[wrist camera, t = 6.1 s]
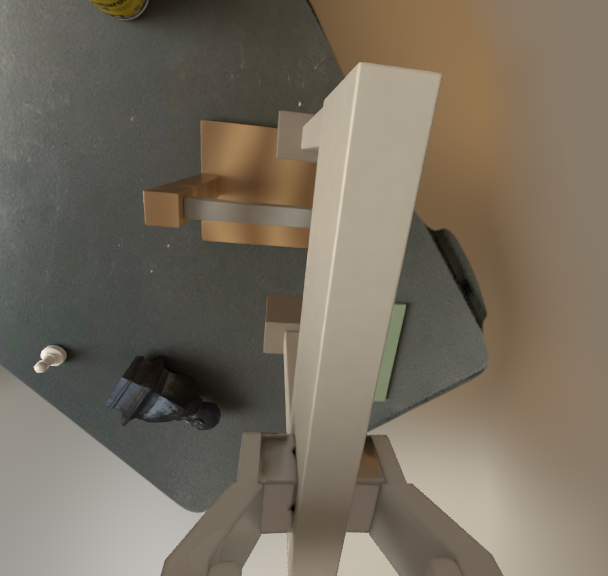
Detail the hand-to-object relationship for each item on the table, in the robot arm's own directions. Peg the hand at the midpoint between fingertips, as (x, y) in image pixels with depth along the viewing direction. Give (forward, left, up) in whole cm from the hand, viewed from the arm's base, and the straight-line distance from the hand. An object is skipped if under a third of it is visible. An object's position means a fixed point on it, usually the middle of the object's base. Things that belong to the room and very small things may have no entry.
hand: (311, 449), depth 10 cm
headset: (0, -3, -13) cm, 14 cm away
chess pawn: (+27, +18, -31) cm, 45 cm away
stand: (+3, -4, -31) cm, 32 cm away
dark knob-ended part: (+13, +22, -31) cm, 40 cm away
